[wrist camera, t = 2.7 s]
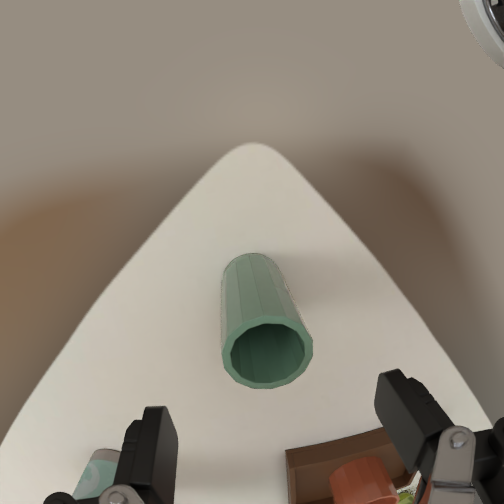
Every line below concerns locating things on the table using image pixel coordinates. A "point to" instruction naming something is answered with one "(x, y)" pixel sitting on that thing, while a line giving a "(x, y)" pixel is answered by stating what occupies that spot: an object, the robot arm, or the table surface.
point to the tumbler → (363, 483)
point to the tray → (339, 465)
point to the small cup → (261, 325)
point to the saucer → (405, 498)
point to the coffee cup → (97, 474)
